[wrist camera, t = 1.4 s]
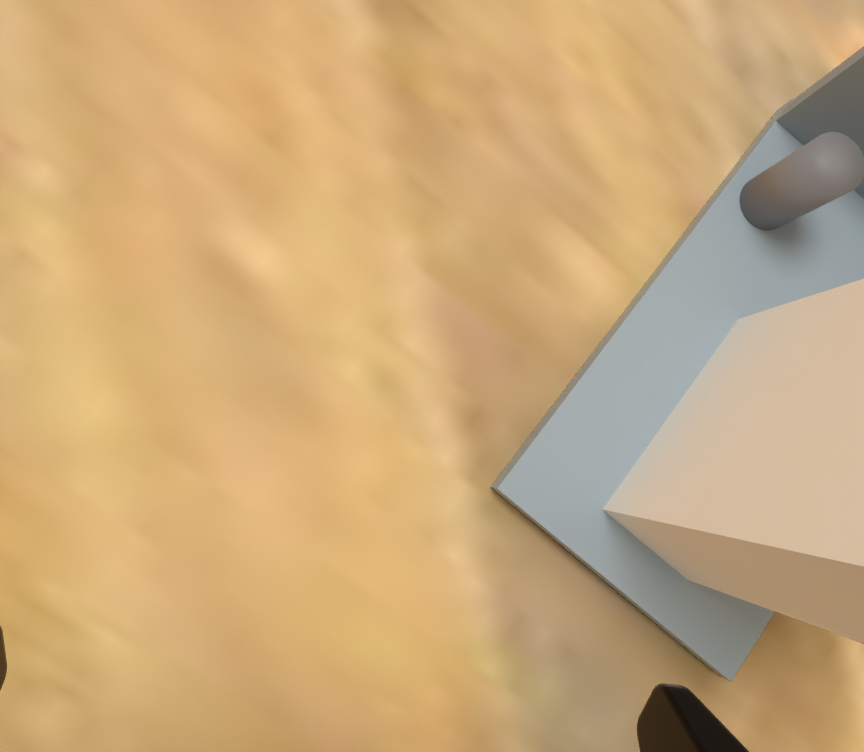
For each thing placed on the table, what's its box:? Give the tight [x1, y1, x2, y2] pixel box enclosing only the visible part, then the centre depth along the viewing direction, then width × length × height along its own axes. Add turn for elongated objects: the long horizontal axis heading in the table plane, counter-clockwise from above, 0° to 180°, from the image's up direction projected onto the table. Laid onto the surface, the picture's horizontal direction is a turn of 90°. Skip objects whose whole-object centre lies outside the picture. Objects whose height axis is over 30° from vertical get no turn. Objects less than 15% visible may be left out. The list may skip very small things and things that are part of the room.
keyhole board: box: [491, 47, 864, 681], centre depth 25 cm, size 22×12×6 cm, turn 141°
